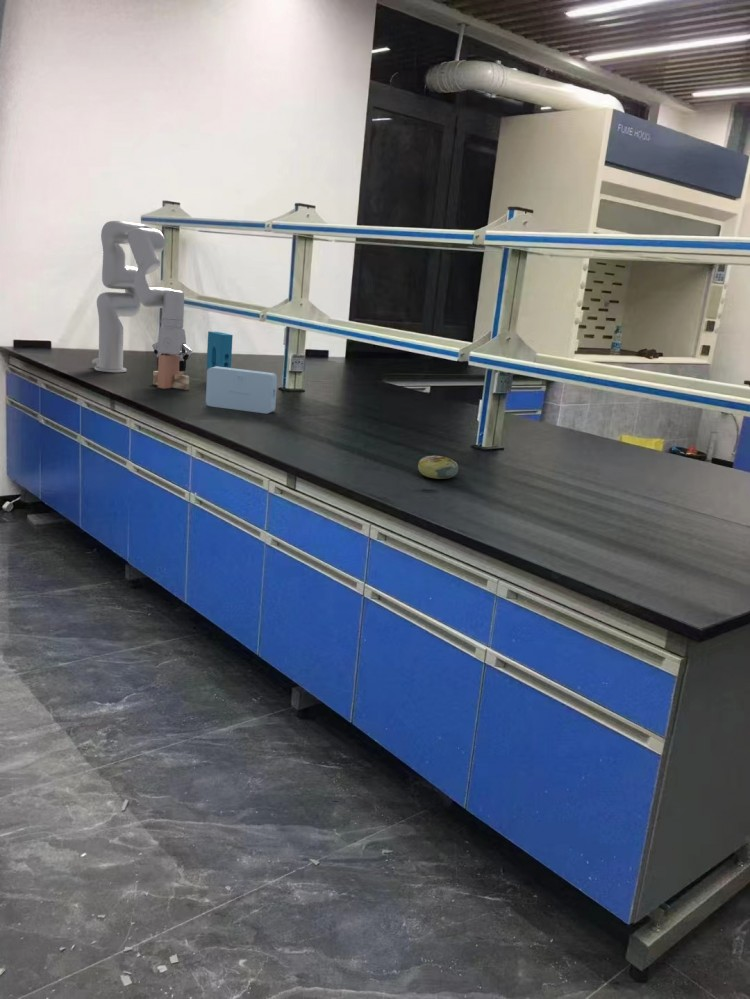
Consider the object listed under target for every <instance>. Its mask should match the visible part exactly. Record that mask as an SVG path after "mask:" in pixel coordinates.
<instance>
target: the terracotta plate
mask: <svg viewBox="0 0 750 999" xmlns="http://www.w3.org/2000/svg"><path fill="white" fill-rule="evenodd" d="M179 361H181V359H180V358H179V356H178V355H170V354H164V355H159V360H158V359H157V371H158V385H157V388H158V389H171V388H172V387H171V383H172V381H175V375H176V374H179V375H185V374H184V373H185V371H179Z"/></svg>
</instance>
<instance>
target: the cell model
mask: <svg viewBox="0 0 750 999" xmlns="http://www.w3.org/2000/svg"><path fill="white" fill-rule="evenodd" d="M417 469H418V471H419V474H421V475H423V476H424V477H426V478H430V479H437V480H443V479H450V478H452V477H455V476H456V475H457V473H458V471H459V464H458V463H457V461H455V460H453V459H452V458H450V457H447V456H442V455H426V456H424V457H421V459H419V461H418V465H417Z"/></svg>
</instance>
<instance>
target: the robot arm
mask: <svg viewBox="0 0 750 999" xmlns="http://www.w3.org/2000/svg"><path fill="white" fill-rule="evenodd" d="M164 236H165V235H164V234H163V233H162V232H161V231H160V230H158V229H157V228H153V227H152V226H149V225H146V224H143V223H137V222H129V221H124V220H122V221H121V220H111V221H110V220H109V221H107V222H106V223H104V225H103V226H102V228H101V233H100V237H101V239H100V241H101V246H102V267H101V268H102V269H101V270H102V271H101V277H102V279H101V281H102V284H103V286H104V287H105V288H107V289H111V290H112V289H113V290H124V292H115V291H105V292H102V293H100V294H99V295H98V296H97V299H96V308H97V314H98V315H97V316H98V357H97V358H93V359H92V360H91V363H92V364H96V365H95V366H94V370H95V371H97V372H102V373H103V372H105V373H125V372H127V370H128V369H127V368H126V367H124V326H123V324H122V321H121V320H120V318H119V317H124V318H125V317H126V318H127V317H128V318H129V317H131V318H132V317H136V316H138V314H139V313H140V311H141V305H142V306H144V307H146V308H151V309H153V308H154V309H155V308H156V309H162V312H163V313H162V318H161V319H160V323H161V324H162V326H160V328H159V331H158V338H157V342H155V343H152V345H151V346H152V349H153V352H154V354H155V356H156V358H157V361H158V360H159V355H178V356H179V358H180V359H181V361H179V371H184V372H186V369H187V367H186V366H187V361H188V359H189V358H190V357H191V355H192V353H193V350H192V349H191V347H190V346H188V345H187V338H186V330H185V328H184V318H185V316H184V312H185V310H184V308H185V293H184V292H183V291H182V290H176V289H173V288H170V287H159V286H157V287H155V286H149V284H148V280H147V278H146V276H147V275H150V274H151V273H153V272H155V271H156V270H158V269H159V267H160V266H161V261H160V258H159V256H158V253H162V252H163V250H164V249H165V246H166V238H165V237H164ZM122 245H129V247H130V250H131V253H132V254H133V257H134V260H135V262H136V263H135V264H136V265H137V267H136V266H133V265H126V253H125V250H124V248H123V246H122Z"/></svg>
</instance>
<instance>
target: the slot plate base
mask: <svg viewBox="0 0 750 999" xmlns="http://www.w3.org/2000/svg"><path fill="white" fill-rule="evenodd" d="M152 377H153V378H152V381H153V382H152V385H155V386H158V370H153V376H152ZM171 388H174V389H180V390H186V391H187V390H189V389H190V375H185V374H184V375H179V374H176V375H175V381H172V383H171Z"/></svg>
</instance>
